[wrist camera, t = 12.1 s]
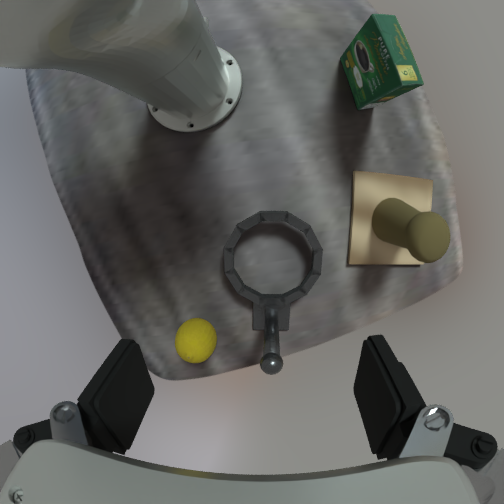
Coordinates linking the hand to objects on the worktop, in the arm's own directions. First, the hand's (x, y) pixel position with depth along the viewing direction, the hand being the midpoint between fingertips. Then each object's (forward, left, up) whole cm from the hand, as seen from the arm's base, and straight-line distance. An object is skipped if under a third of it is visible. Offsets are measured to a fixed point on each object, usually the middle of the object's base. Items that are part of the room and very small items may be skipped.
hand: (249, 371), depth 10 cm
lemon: (+14, -9, -26) cm, 30 cm away
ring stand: (+5, +1, -25) cm, 26 cm away
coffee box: (-20, +12, -26) cm, 35 cm away
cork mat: (-2, +17, -25) cm, 31 cm away
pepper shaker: (-2, +17, -25) cm, 30 cm away
